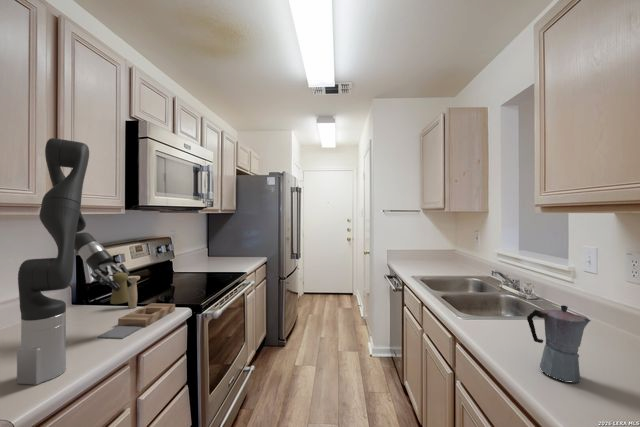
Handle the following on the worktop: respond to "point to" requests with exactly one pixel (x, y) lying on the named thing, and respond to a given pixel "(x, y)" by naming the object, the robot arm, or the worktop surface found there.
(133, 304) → the handle
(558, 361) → the moka pot
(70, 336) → the worktop surface
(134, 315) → the wooden compartment tray
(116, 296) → the cork
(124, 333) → the rubber mat
